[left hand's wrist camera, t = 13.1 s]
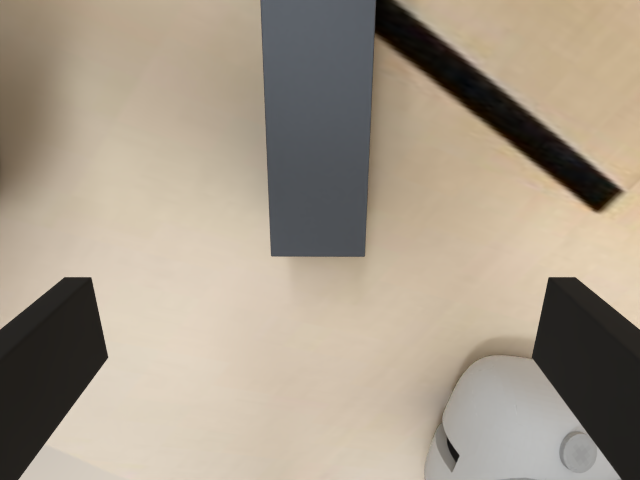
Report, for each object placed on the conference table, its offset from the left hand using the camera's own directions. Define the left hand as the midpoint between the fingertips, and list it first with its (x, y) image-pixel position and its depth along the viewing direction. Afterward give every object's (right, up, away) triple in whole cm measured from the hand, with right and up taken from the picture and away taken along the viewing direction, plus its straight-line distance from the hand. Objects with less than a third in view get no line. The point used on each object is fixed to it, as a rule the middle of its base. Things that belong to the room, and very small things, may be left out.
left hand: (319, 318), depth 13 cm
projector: (+22, -15, +30) cm, 40 cm away
